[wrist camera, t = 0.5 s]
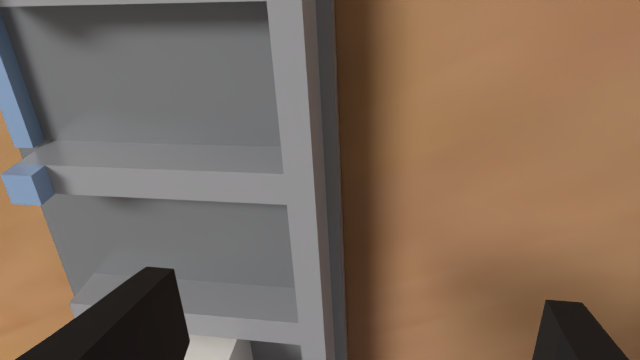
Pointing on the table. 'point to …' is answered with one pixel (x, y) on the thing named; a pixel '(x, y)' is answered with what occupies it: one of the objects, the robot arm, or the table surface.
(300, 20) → the parts fixture tray
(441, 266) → the table surface
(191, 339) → the white upright block
